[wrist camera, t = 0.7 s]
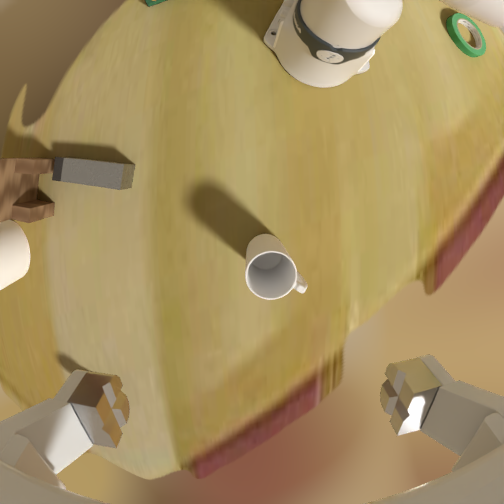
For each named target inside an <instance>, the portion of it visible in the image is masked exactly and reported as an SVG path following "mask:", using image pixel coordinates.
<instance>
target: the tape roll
mask: <svg viewBox="0 0 504 504" xmlns="http://www.w3.org/2000/svg"><path fill="white" fill-rule="evenodd" d="M458 23H461V24H463V25H464V26H465V27H467V28H468V29H469V31H470V32H471V33H472V35H473V37H474V39H475V43H476V47H475V48H474V47H472V46H471V45H469V44H468V43H467V42H466V41H465V40H464V38H463V37H462V35H461V34H460V31H459V29H458ZM446 26H447V30H448V33H449V35H450V37H451V39H452V40H453V42H454V43H455V44H456V46H457V47H458V48H459V49H460V50H461V51H462V52H463V53H465V54H466V55H468V56H470V57H478V56H480V55H483V54H484V53H485V51H486V43H485V39H484V37H483V35H482V33H481V31H480V29H479V28H478V27H477V25H476V24H475V23H474V22H473V21H472V20H471V19H470V18H468V17H467V16H465V15H463V14H460V13H456V14H454V15H452V16H450V17H449V18H448V19H447V22H446Z"/></svg>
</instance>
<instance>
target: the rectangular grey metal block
mask: <svg viewBox="0 0 504 504" xmlns="http://www.w3.org/2000/svg"><path fill="white" fill-rule="evenodd" d="M134 169H135V165H134V164H126V163H118V162H110V161H102V160H93V159H83V158H73V157H55V162H54V170H53V178H52V180H55V181H63V182H70V183H77V184H84V185H91V186H98V187H105V188H111V189H118V190H122V189H128V188H132V182H133V175H134Z"/></svg>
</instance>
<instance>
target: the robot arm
mask: <svg viewBox="0 0 504 504" xmlns="http://www.w3.org/2000/svg"><path fill="white" fill-rule="evenodd" d="M439 1H441V2H443V3H444V4H446V5H448V6H449V7H451V8H453V9H456V10H458V11H460V12H462V13H464V14H466V15H468V16H470V17H473V18H475V19H477V20H479V21H481V22H483V23H485V24H487V25H490V26H493V27H504V0H439ZM402 7H403V3H402V0H284V1H283V4H282V5H281V7H280V9H279V11H278V12H277V14H276V16H275V18H274V19H273V21H272V23H271V25H270V27H269V28H268V30H267V32H266V34H265V36H264V38H263V41H264V43H265V44H266V45H267V46H268V47H269V48H270V49H272V50H273V51H274V52H275V53H276V55H277V57H278V59H279V61H280V63H281V65H282V66H283V67H284V69H285V70H286V71H287V72H288V73H289V74H290V75H291V76H293V77H294V78H296V79H297V80H299V81H301V82H303V83H305V84H308V85H311V86H315V87H333V86H337V85H340V84H342V83H344V82H345V81H347V80H348V79H349V78H350V77H352V76H353V75H355V74H360V73H364V72H366V71H367V70H368V69H369V59H370V58H371V57H372V56H373V55H374V53H375V50H374V47H375V45H376V44H377V42H378V41H379V39H380V37H381V35H382V34H384V33H385V32H386V31H387V30H388V29H389V28H390V27H392V26H393V25H394V24H395V23H396V22H397V21H398V19H399V18H400V15H401V12H402ZM271 33H275V34H276V35H272V34H271ZM385 375H386V376H387V378H388V379H387V380H386V381H385V382H384V383H383V385H382V388H381V392H380V401H381V405H382V407H383V409H384V411H385V412H386V413H388V414H390V415H391V419H390V422H391V425H392V427H393V429H394V430H395V432H396V434H397V435H402V434H406V433H409V432H413V431H416V430H420V429H421V430H420V431H422V432H423V433H425V434H426V435H428V436H429V437H431V438H433V439H434V440H436V441H437V442H439V443H440V444H442V445H443V446H445V447H446V448H448V449H450V450H451V451H453V452H454V453H456V454H458V455H460V457H459V459H458V460H457V462H456V463H455V464H454V466H453V468H452V471H453V472H451V473H449V474H447V475H444V476H442V477H440V478H438V479H435V480H433V481H431V482H428V483H426V484H423V485H420V486H418V487H415V488H413V489H410V490H408V491H404V492H401V493H398V494H395V495H392V496H389V497H386V498H382V499H379V500H376V501H372V502H368V503H364V504H504V397H503V396H500V395H497V394H494V393H492V392H489V391H486V390H483V389H481V388H478V387H475V386H473V385H470V384H467V383H465V382H462V381H455V380H454V379H453V378H452V377H451V376H450V374H449V373H448V372H447V371H446V370H445V369H444V368H443V366H442V365H441V364H440V363H439V362H438V361H437V360H436V359H435V358H434V357H433V356H432V355H425V356H421V357H417V358H414V359H409V360H405V361H400V362H395V363H391V364H389V365H388V367H387V369H386V372H385ZM122 386H123V385H122V382H121V379H120V377H118V376H117V375H112V374H105V373H98V372H92V371H84V370H78V369H77V370H74V371H73V372H72V374H71V375H70V376H69V378H68V379H67V381H66V382H65V383H64V385H63V386H62V387H61V389H60V390H59V392H58V393H57V394H56V396H55V397H54V399H50V398H49V399H47V400H45V401H43V402H41V403H39V404H37V405H35V406H33V407H31V408H28V409H26V410H24V411H22V412H20V413H18V414H16V415H14V416H12V417H9V418H7V419H5V420H3V421H1V422H0V504H110V503H106V502H102V501H98V500H95V499H92V498H88V497H85V496H82V495H79V494H76V493H73V492H70V491H67V490H65V489H66V487H65V485H64V483H63V482H62V481H61V480H60V479H59V478H58V477H57V475H56V474H57V473H59V472H60V471H61V470H63V469H64V468H65V467H66V466H68V465H69V464H70V463H72V462H73V461H74V460H75V459H77V458H78V457H79V456H80V455H82V454H83V453H84V452H85V451H87V450H88V449H89V448H90V447H92V446H93V444H95V445H101V446H106V447H112V448H117V446H118V444H119V441H120V439H121V436H122V434H123V433H122V431H121V429H120V427H122V426H123V425H125V424H126V423H127V421H128V418H129V411H130V407H129V401H128V398H127V396H126V395H125V394H124V393H123V392H122V391H121V388H122Z"/></svg>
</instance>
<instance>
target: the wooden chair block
mask: <svg viewBox="0 0 504 504" xmlns="http://www.w3.org/2000/svg"><path fill="white" fill-rule="evenodd" d="M54 162H55V159H48V158H2V159H0V222H3V221H7V220H10V219H14V220H18V221H22V222H27V223H31V222H34V221H38V220H41V219H44V218H47V217H50V216H54V204H55V203H53V202H48V201H42V200H37V192H38V181H39V174H45V173H53V170H54Z"/></svg>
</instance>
